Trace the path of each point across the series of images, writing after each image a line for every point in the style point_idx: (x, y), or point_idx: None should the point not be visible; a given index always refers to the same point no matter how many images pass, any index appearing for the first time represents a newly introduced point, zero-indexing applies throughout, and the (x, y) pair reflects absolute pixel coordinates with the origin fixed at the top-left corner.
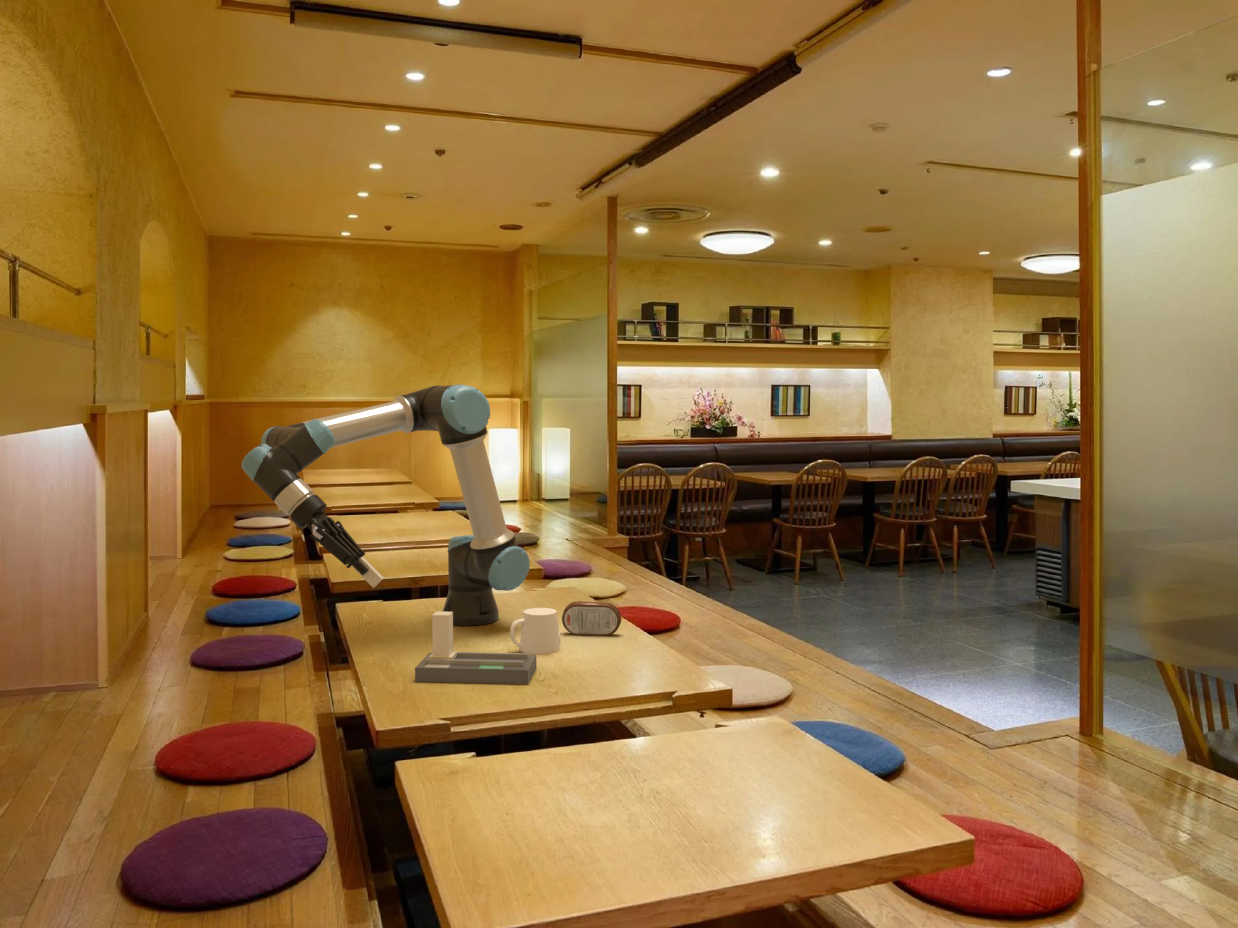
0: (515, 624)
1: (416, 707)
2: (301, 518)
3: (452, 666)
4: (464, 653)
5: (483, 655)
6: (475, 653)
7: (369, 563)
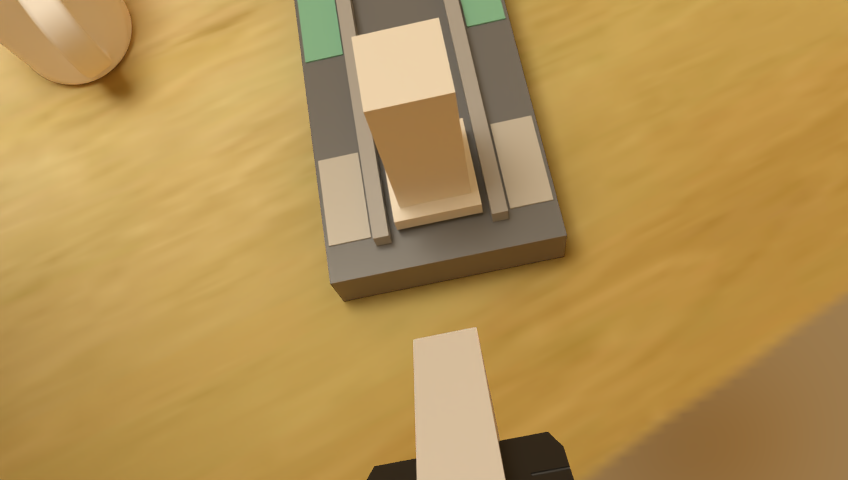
0: (67, 12)
1: (841, 114)
2: None
3: (505, 111)
4: None
5: None
6: None
7: (421, 464)
